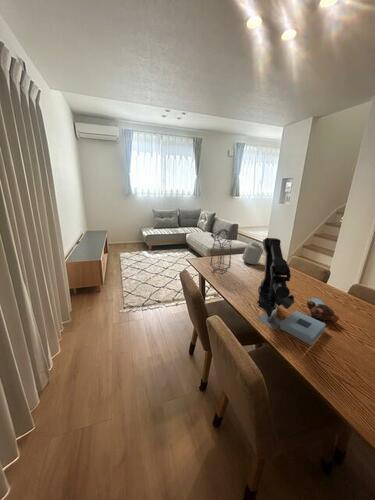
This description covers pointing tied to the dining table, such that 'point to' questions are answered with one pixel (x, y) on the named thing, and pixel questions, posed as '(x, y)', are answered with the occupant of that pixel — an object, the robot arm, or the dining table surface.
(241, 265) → the dining table surface
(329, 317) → the decorative turtle
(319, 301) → the smartphone
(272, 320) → the steel pin
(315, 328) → the blue peg hole block
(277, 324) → the rubber mat
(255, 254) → the jar
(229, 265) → the geometric lantern
